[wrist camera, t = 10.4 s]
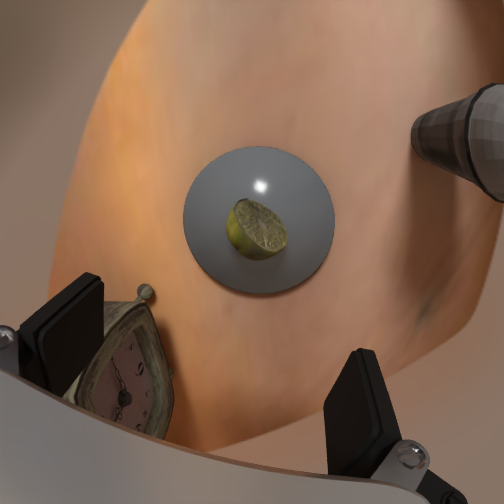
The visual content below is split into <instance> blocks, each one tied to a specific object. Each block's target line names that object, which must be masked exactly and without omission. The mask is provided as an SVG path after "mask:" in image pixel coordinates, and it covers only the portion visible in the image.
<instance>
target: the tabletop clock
mask: <svg viewBox="0 0 504 504" xmlns="http://www.w3.org/2000/svg"><path fill="white" fill-rule="evenodd" d="M137 294H138V298H137V299H136V300H135V301H134V302H117V301H104V342H103V345H102V347H101V348H100V349H99V350H98V352H97V353H96V354H95V356H94V357H93V358H92V359H91V361H90V362H89V363H88V364H87V366H86V367H85V368H84V370H83V371H82V372H81V374H80V375H79V376H78V377H77V379H76V380H75V381H74V383H73V384H72V385H71V387H70V388H69V389H68V391H67V392H66V393H65V395H64V396H63V397H62V399H64V400H67V401H69V402H71V403H73V404H75V405H77V406H79V407H81V408H83V409H85V410H87V411H90V412H92V413H94V414H96V415H99V416H101V417H103V418H106V419H108V420H110V421H113V422H115V423H118V424H120V425H123V426H125V427H128V428H130V429H133V430H136V431H138V432H141V433H144V434H147V435H150V436H152V437H155V438H158V439H161V440H164V438H165V435H166V432H167V429H168V427H169V423H170V420H171V416H172V412H173V406H174V392H173V386H172V381H171V379H173V377H174V371H173V370H172V369H171V368H169V367H168V365H167V361H166V357H165V353H164V349H163V346H162V343H161V340H160V337H159V333H158V330H157V327H156V324H155V321H154V318H153V315H152V313H151V311H150V309H149V307H148V305H147V303H146V302H141V301H142V300H148V299H149V298H150V297H151V296H152V295H153V289H152V287H151V286H150V285H148V284H142V285H140V286H139V287H138V289H137Z"/></svg>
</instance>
